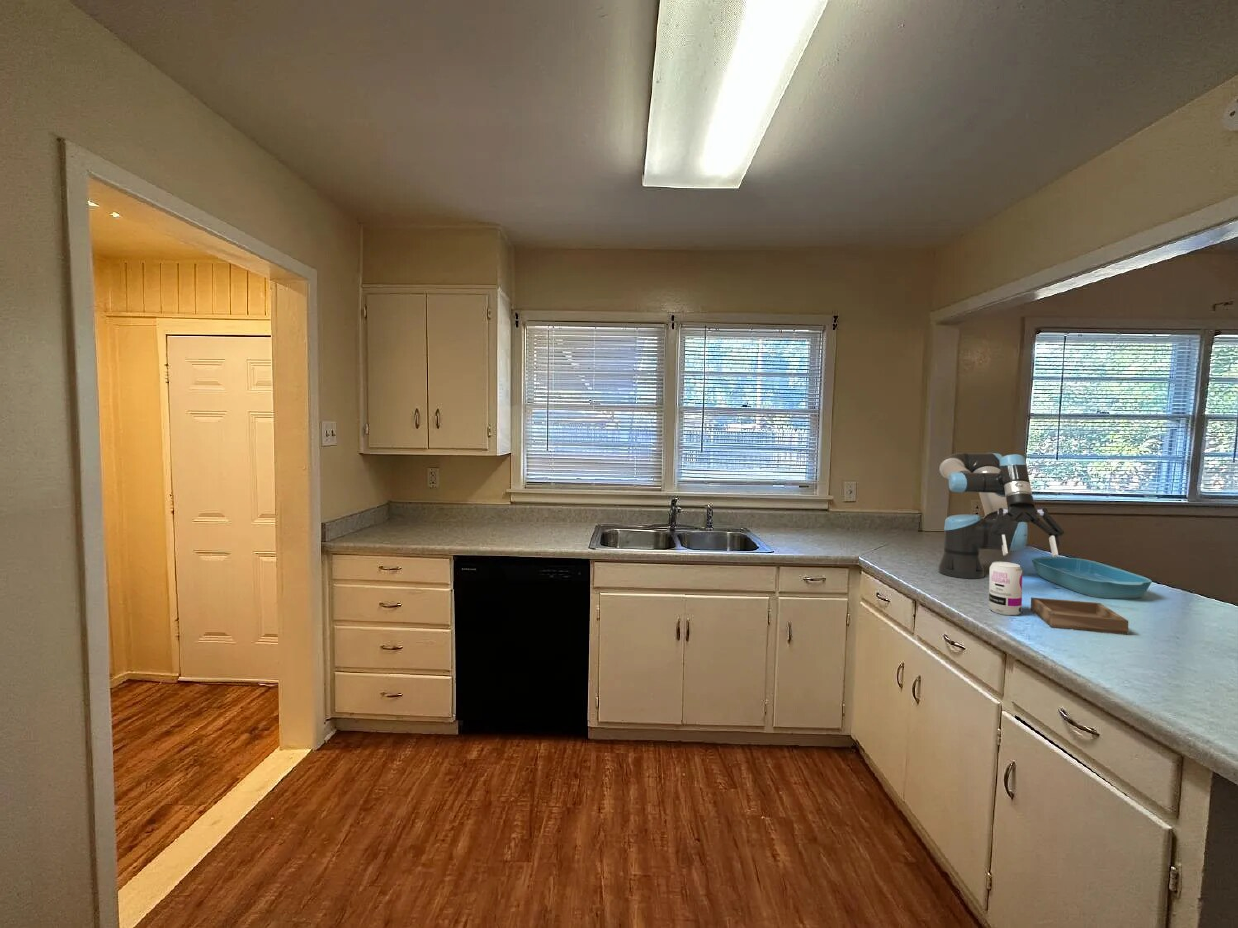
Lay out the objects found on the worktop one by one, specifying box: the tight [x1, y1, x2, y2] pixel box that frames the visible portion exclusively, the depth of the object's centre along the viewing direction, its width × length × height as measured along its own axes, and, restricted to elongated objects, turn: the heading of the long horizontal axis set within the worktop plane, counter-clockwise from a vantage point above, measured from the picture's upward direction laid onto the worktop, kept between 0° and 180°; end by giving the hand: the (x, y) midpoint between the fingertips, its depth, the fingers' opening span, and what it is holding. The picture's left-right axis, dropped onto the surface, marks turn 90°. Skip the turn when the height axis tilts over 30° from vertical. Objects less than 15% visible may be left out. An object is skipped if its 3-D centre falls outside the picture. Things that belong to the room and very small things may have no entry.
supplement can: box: [988, 561, 1024, 616], centre depth 162 cm, size 8×8×15 cm
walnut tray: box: [1030, 597, 1129, 636], centre depth 153 cm, size 16×17×4 cm
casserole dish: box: [1031, 555, 1153, 599], centre depth 187 cm, size 37×22×7 cm, turn 175°
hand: (1030, 555), depth 174 cm, fingers open, 13 cm apart
